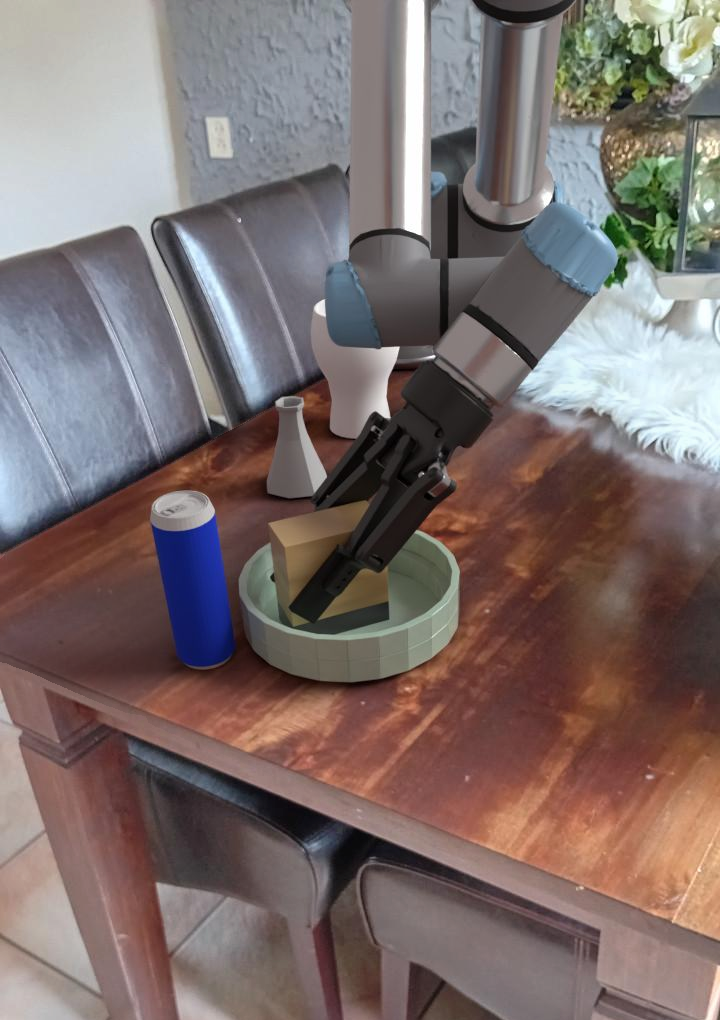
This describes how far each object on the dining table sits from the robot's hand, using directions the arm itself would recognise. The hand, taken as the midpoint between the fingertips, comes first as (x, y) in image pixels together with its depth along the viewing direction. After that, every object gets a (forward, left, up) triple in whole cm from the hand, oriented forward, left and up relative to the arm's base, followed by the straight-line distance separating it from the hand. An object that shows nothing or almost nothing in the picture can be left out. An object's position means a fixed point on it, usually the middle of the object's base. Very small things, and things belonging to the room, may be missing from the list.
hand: (291, 599), depth 88 cm
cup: (-45, 0, -4) cm, 45 cm away
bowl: (-3, +5, -4) cm, 7 cm away
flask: (-29, -5, -4) cm, 29 cm away
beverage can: (+3, -7, -4) cm, 9 cm away
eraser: (-2, +3, -3) cm, 5 cm away
